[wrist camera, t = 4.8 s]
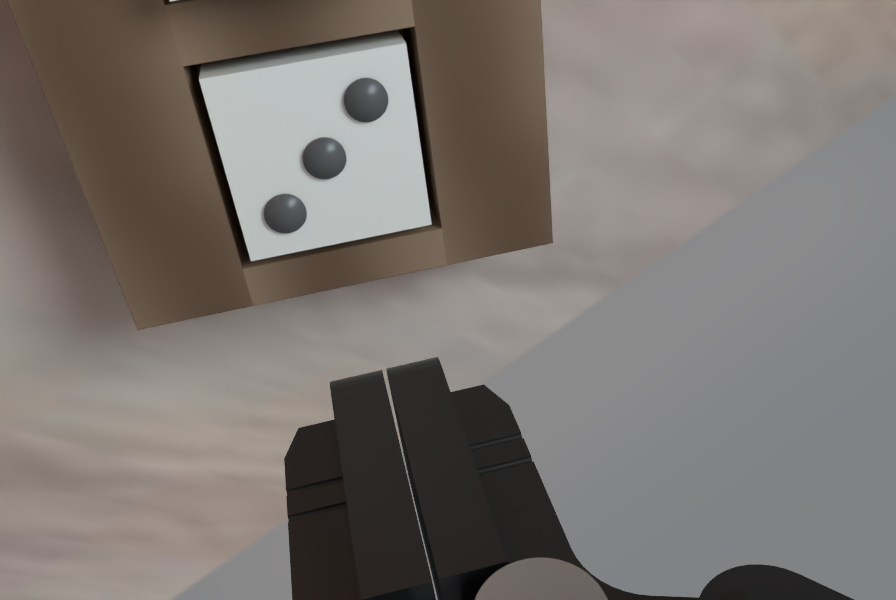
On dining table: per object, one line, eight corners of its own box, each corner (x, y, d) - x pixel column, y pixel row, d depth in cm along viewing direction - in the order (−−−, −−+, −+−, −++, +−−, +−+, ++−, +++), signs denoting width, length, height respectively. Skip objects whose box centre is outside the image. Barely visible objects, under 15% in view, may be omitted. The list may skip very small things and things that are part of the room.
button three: (389, 18, 22) (407, 44, 20) (414, 187, 25) (432, 226, 22) (203, 50, 21) (198, 80, 19) (249, 219, 24) (251, 263, 22)
